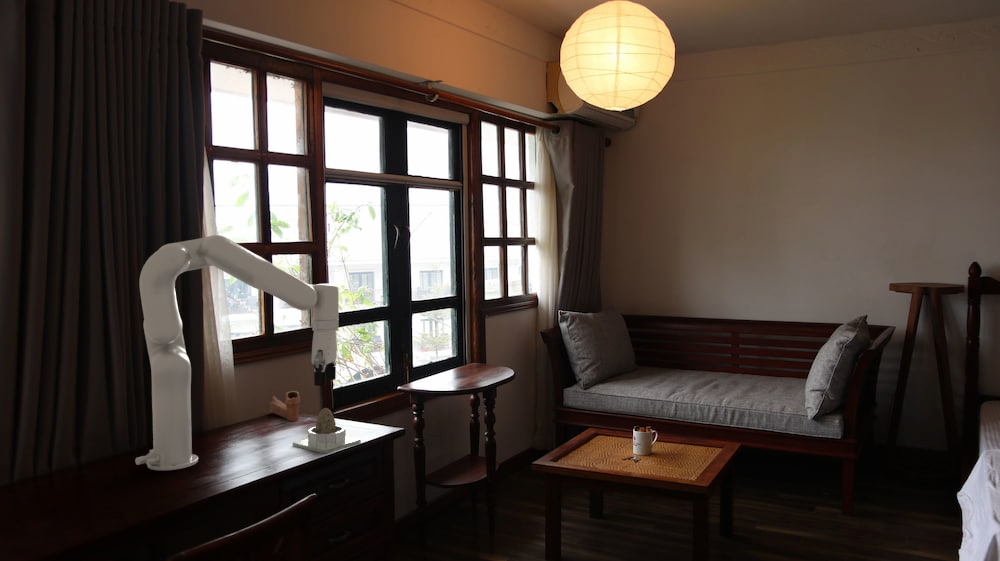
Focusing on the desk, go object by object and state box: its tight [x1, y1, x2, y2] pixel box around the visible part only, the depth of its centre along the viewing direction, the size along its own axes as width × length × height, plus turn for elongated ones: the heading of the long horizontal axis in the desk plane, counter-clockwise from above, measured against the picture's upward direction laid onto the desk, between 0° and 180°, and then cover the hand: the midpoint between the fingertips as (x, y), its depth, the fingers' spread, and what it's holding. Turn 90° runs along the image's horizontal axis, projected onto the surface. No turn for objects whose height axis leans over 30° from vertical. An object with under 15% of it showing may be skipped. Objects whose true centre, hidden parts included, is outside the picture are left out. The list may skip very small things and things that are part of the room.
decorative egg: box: [315, 407, 337, 434], centre depth 214 cm, size 6×6×10 cm
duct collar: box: [292, 424, 362, 454], centre depth 214 cm, size 14×14×4 cm
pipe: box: [269, 390, 301, 422], centre depth 248 cm, size 5×18×10 cm, turn 42°
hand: (325, 382), depth 213 cm, fingers open, 9 cm apart
